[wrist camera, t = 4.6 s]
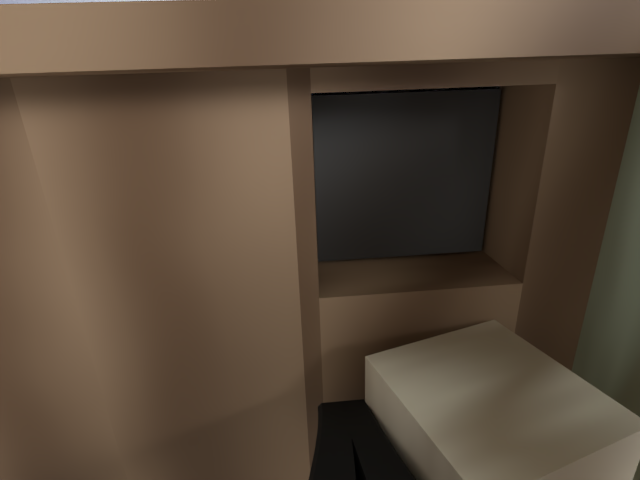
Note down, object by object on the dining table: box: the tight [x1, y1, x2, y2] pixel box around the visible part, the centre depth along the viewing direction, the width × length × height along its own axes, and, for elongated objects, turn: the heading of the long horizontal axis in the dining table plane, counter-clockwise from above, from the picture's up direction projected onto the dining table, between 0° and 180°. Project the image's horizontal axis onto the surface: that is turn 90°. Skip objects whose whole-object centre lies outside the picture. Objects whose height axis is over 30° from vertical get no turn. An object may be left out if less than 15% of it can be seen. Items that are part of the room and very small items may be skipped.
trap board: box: [0, 0, 640, 480], centre depth 11 cm, size 18×20×6 cm
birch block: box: [365, 320, 640, 480], centre depth 9 cm, size 4×4×4 cm
